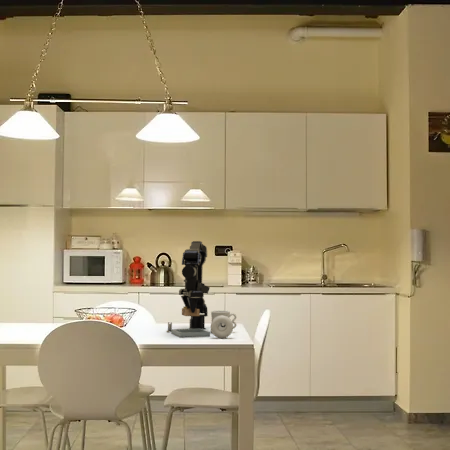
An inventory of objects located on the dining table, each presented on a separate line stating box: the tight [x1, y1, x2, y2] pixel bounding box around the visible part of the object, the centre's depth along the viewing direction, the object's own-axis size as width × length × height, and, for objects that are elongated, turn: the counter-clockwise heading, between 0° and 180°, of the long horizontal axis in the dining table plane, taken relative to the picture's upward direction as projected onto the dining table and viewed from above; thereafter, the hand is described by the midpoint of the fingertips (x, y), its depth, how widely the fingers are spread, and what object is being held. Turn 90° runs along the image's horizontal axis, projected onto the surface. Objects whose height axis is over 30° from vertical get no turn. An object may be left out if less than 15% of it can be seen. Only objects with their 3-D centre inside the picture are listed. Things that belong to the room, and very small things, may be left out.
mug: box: [210, 310, 237, 333], centre depth 314 cm, size 12×9×10 cm
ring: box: [181, 306, 201, 317], centre depth 303 cm, size 6×6×4 cm
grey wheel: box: [210, 315, 234, 339], centre depth 294 cm, size 10×4×10 cm, turn 87°
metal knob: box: [166, 321, 173, 333], centre depth 313 cm, size 3×3×4 cm
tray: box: [170, 328, 211, 338], centre depth 303 cm, size 14×14×2 cm
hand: (190, 312), depth 303 cm, fingers closed on ring, 6 cm apart
